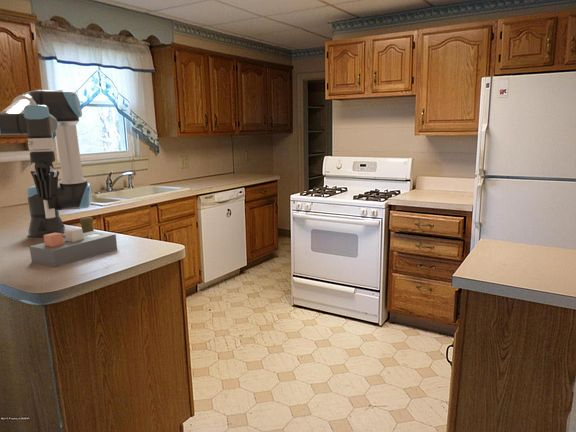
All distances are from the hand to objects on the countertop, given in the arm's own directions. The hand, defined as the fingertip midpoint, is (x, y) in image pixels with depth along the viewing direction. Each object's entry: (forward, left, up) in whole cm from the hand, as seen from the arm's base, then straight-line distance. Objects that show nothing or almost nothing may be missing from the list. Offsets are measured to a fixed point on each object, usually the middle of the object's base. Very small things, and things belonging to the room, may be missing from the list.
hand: (50, 217), depth 153 cm
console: (0, +8, -16) cm, 18 cm away
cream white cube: (0, +8, -10) cm, 13 cm away
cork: (-13, +23, -16) cm, 31 cm away
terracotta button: (0, 0, -10) cm, 10 cm away
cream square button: (0, +16, -14) cm, 22 cm away
